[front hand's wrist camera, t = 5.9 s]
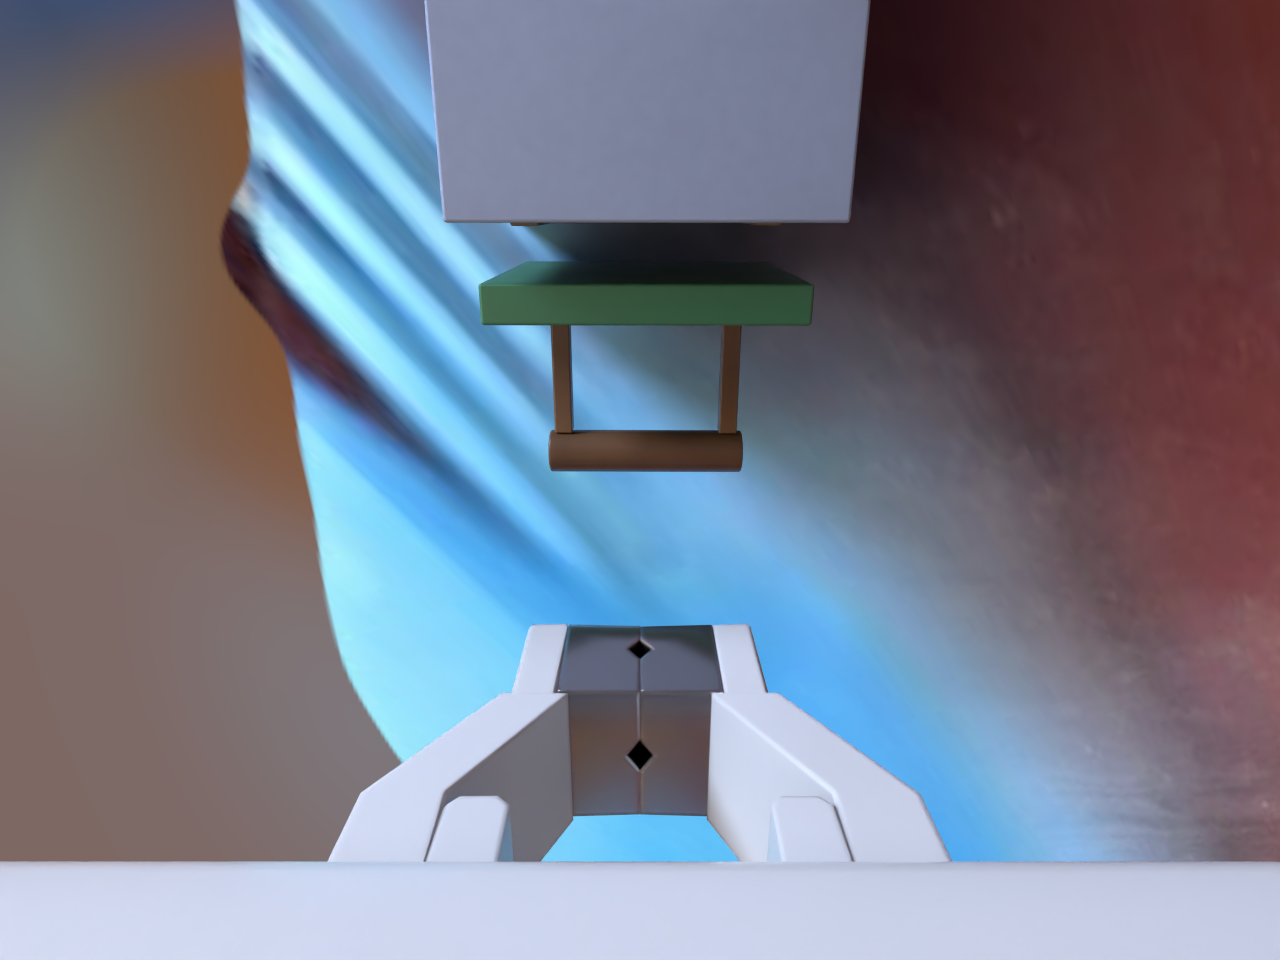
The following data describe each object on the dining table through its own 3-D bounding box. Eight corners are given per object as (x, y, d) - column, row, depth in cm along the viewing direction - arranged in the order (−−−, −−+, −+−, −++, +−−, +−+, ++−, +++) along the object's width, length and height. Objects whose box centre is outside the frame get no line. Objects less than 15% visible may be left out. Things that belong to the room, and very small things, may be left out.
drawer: (758, 420, 32) (798, 497, 24) (533, 419, 32) (493, 496, 24) (798, -283, 24) (881, -549, 16) (497, -282, 24) (417, -545, 16)
